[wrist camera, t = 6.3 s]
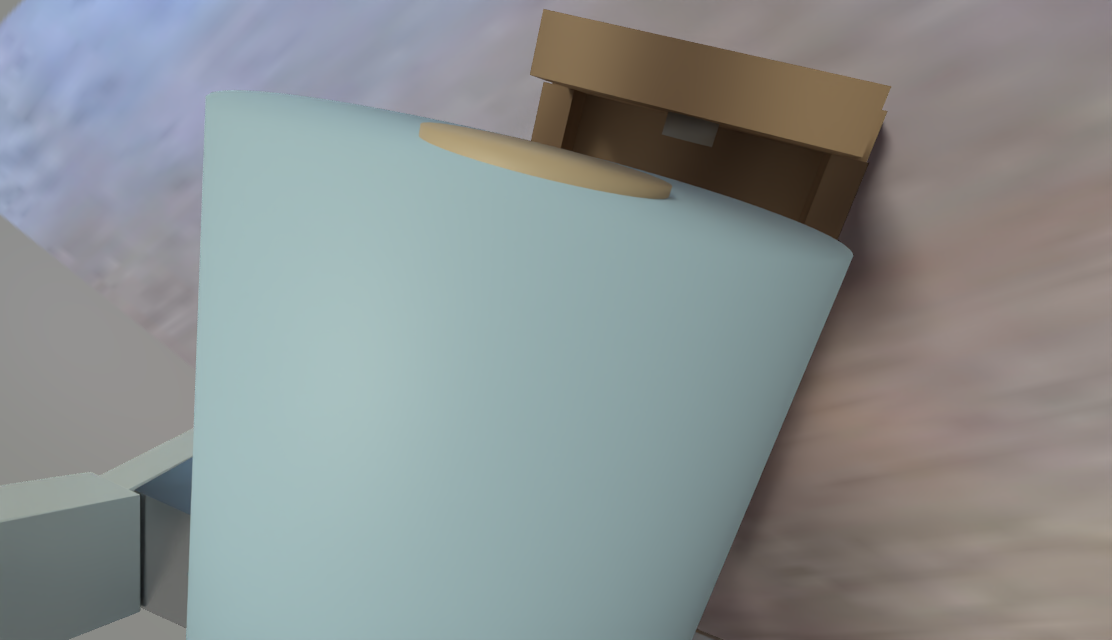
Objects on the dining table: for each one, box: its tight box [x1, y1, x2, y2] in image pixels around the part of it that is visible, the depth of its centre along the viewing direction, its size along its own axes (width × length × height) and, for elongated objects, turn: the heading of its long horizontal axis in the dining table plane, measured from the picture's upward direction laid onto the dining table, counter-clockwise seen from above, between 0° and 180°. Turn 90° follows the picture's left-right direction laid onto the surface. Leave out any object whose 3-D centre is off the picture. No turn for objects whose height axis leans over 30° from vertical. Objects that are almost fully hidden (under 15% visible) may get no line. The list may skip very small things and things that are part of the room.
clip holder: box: [530, 9, 891, 240], centre depth 19 cm, size 10×16×6 cm, turn 166°
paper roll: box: [186, 90, 853, 640], centre depth 7 cm, size 6×11×6 cm, turn 166°
